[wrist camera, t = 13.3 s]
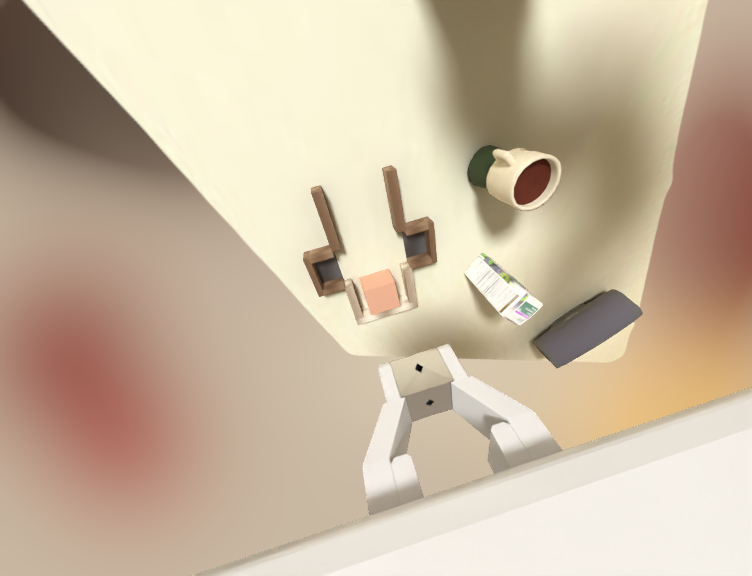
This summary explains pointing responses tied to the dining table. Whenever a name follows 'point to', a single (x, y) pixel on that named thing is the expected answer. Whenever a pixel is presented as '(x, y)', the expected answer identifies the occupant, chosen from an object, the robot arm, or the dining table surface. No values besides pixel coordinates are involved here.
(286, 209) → the dining table surface
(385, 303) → the terracotta block
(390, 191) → the trap channel
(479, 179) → the character mug
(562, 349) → the bluetooth speaker
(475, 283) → the syrup box
